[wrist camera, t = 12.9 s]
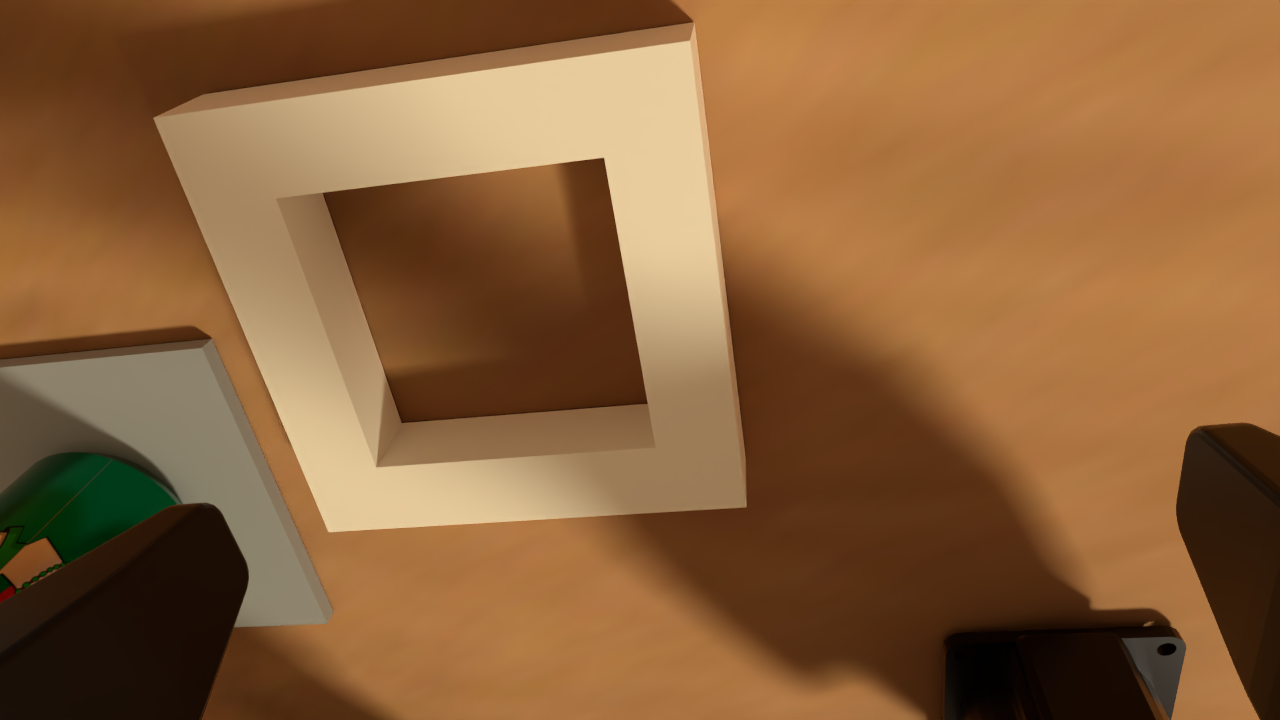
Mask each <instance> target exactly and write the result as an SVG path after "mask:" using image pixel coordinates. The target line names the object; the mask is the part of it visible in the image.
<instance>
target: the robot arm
mask: <svg viewBox="0 0 1280 720" xmlns="http://www.w3.org/2000/svg"><path fill="white" fill-rule="evenodd" d="M1176 515H1177V522H1178V526H1179V530H1180V533H1181V536H1182V538H1183V541H1184V543H1185V545H1186V548H1187V550H1188V553H1189V555H1190V558H1191V560H1192V563H1193V565H1194V568H1195V570H1196V572H1197V575H1198V577H1199V580H1200V582H1201V585H1202V587H1203V590H1204V592H1205V595H1206V597H1207V600H1208V602H1209V604H1210V607H1211V609H1212V612H1213V614H1214V617H1215V619H1216V622H1217V624H1218V627H1219V629H1220V631H1221V634H1222V636H1223V639H1224V641H1225V644H1226V646H1227V649H1228V651H1229V654H1230V656H1231V658H1232V661H1233V663H1234V666H1235V668H1236V671H1237V673H1238V675H1239V677H1240V680H1241V682H1242V684H1243V686H1244V689H1245V691H1246V693H1247V695H1248V697H1249V699H1250V701H1251V703H1252V705H1253V707H1254V709H1255V711H1256V713H1257V715H1258V717H1259V719H1260V720H1280V436H1278V435H1276V434H1273V433H1271V432H1269V431H1267V430H1264V429H1262V428H1260V427H1258V426H1255V425H1253V424H1249V423H1231V424H1219V425H1206V426H1199V427H1197V428H1196V429H1194V430H1193V431H1191V433H1190V435H1189V436H1188V439H1187V442H1186V446H1185V452H1184V459H1183V465H1182V471H1181V477H1180V484H1179V490H1178V496H1177V503H1176ZM248 582H249V570H248V565H247V562H246V559H245V557H244V555H243V553H242V551H241V549H240V547H239V545H238V544H237V542H236V540H235V538H234V536H233V534H232V532H231V530H230V528H229V526H228V524H227V522H226V520H225V518H224V516H223V514H222V512H221V511H220V510H219V509H218V508H217V507H216V506H215V505H213V504H210V503H206V502H203V503H190V504H178V505H173V506H169V507H167V508H165V509H163V510H161V511H160V512H158V513H156V514H154V515H153V516H151V517H149V518H147V519H146V520H144V521H142V522H140V523H139V524H137V525H135V526H133V527H132V528H130V529H128V530H126V531H125V532H123V533H121V534H119V535H118V536H116V537H114V538H112V539H111V540H109V541H107V542H105V543H104V544H102V545H100V546H98V547H97V548H95V549H93V550H92V551H90V552H88V553H86V554H85V555H83V556H81V557H79V558H78V559H76V560H74V561H72V562H71V563H69V564H67V565H65V566H64V567H62V568H60V569H58V570H57V571H55V572H53V573H51V574H50V575H48V576H46V577H44V578H43V579H41V580H39V581H37V582H36V583H34V584H32V585H30V586H29V587H27V588H25V589H23V590H22V591H20V592H18V593H16V594H15V595H13V596H11V597H9V598H8V599H6V600H4V601H2V602H1V603H0V720H201V719H202V717H203V714H204V711H205V709H206V706H207V703H208V700H209V698H210V695H211V692H212V689H213V686H214V683H215V680H216V677H217V674H218V672H219V669H220V666H221V663H222V660H223V657H224V654H225V651H226V649H227V646H228V643H229V640H230V637H231V634H232V631H233V628H234V626H235V623H236V620H237V617H238V614H239V611H240V608H241V605H242V603H243V600H244V597H245V594H246V591H247V587H248ZM959 650H964V651H959ZM1185 651H1186V645H1185V642H1184V641H1183V639H1182V637H1181V635H1180V633H1179V632H1178V631H1177V630H1176V629H1174V628H1172V627H1169V626H1148V627H1120V628H1092V629H1064V630H1036V631H1007V632H979V633H959V634H954V635H952V636H950V637H948V638H947V639H946V640H945V641H944V644H943V666H942V716H941V720H1171V717H1172V712H1173V708H1174V703H1175V698H1176V694H1177V689H1178V684H1179V679H1180V675H1181V670H1182V665H1183V660H1184V656H1185Z"/></svg>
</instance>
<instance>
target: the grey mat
mask: <svg viewBox="0 0 1280 720" xmlns="http://www.w3.org/2000/svg"><path fill="white" fill-rule="evenodd" d="M67 452H96V453H104V454H109V455H114V456H117V457H121V458H124V459H126V460H129V461H131V462H134V463H136V464H138V465H140V466H141V467H143V468H145V469H147V470H148V471H150V472H151V473H153V474H154V475H156V476H157V477H158V478H159V479H161V480H162V481H163V482H164V483H165V484H166V485H167V486H168V487H169V488H170V489H171V490H172V491H173V492H174V494H175V495H176V496H177V498H178V499H179V500H180V502H181V504H190V503H203V502H206V503H210V504H213V505H215V506H216V507H217V508H218V509H219V510H220V511H221V512H222V514H223V516H224V518H225V520H226V522H227V524H228V526H229V528H230V530H231V532H232V534H233V536H234V538H235V540H236V542H237V544H238V545H239V547H240V549H241V551H242V553H243V555H244V557H245V559H246V562H247V565H248V570H249V582H248V587H247V591H246V594H245V597H244V600H243V603H242V605H241V608H240V611H239V614H238V617H237V620H236V623H235V626H234V627H257V626H281V625H305V624H327V623H328V621H329V619H330V617H331V616H332V614H333V609H332V607H331V605H330V603H329V600H328V598H327V596H326V594H325V592H324V589H323V587H322V585H321V583H320V580H319V578H318V576H317V574H316V571H315V569H314V567H313V565H312V562H311V560H310V558H309V556H308V553H307V551H306V549H305V547H304V544H303V542H302V540H301V538H300V535H299V533H298V531H297V529H296V526H295V524H294V522H293V520H292V517H291V515H290V513H289V511H288V509H287V506H286V504H285V502H284V500H283V497H282V495H281V493H280V491H279V488H278V486H277V484H276V482H275V479H274V477H273V475H272V473H271V470H270V468H269V466H268V464H267V461H266V459H265V457H264V455H263V452H262V450H261V448H260V446H259V443H258V441H257V439H256V437H255V434H254V432H253V430H252V428H251V426H250V423H249V421H248V419H247V417H246V414H245V412H244V410H243V408H242V405H241V403H240V401H239V399H238V396H237V394H236V392H235V390H234V387H233V385H232V383H231V381H230V378H229V376H228V374H227V372H226V369H225V367H224V365H223V363H222V360H221V358H220V356H219V354H218V351H217V349H216V347H215V345H214V343H213V340H212V339H204V340H194V341H184V342H174V343H163V344H153V345H143V346H133V347H123V348H113V349H103V350H92V351H82V352H72V353H62V354H52V355H42V356H32V357H22V358H11V359H1V360H0V493H1V492H2V491H4V490H5V489H6V488H7V487H8V486H9V485H10V484H12V483H13V482H14V481H15V480H16V479H17V478H18V477H19V476H21V475H22V474H23V473H24V472H25V471H26V470H27V469H29V468H30V467H31V466H32V465H33V464H35V463H36V462H37V461H39V460H41V459H43V458H45V457H47V456H51V455H54V454H58V453H67Z"/></svg>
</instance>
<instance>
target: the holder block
mask: <svg viewBox="0 0 1280 720" xmlns="http://www.w3.org/2000/svg"><path fill="white" fill-rule="evenodd" d="M153 119H154V121H155V124H156V126H157V128H158V131H159V133H160V135H161V138H162V140H163V143H164V145H165V147H166V150H167V152H168V154H169V157H170V159H171V161H172V164H173V166H174V168H175V171H176V173H177V176H178V178H179V180H180V183H181V185H182V187H183V190H184V192H185V194H186V197H187V199H188V202H189V204H190V206H191V209H192V211H193V213H194V216H195V218H196V220H197V223H198V225H199V227H200V230H201V232H202V235H203V237H204V239H205V242H206V244H207V246H208V249H209V251H210V253H211V256H212V258H213V261H214V263H215V265H216V268H217V270H218V272H219V275H220V277H221V279H222V282H223V284H224V286H225V289H226V291H227V294H228V296H229V298H230V301H231V303H232V305H233V308H234V310H235V312H236V315H237V317H238V320H239V322H240V324H241V327H242V329H243V331H244V334H245V336H246V338H247V341H248V343H249V345H250V348H251V350H252V353H253V355H254V357H255V360H256V362H257V364H258V367H259V369H260V371H261V374H262V376H263V379H264V381H265V383H266V386H267V388H268V390H269V393H270V395H271V397H272V400H273V402H274V404H275V407H276V409H277V412H278V414H279V416H280V419H281V421H282V423H283V426H284V428H285V430H286V433H287V435H288V437H289V440H290V442H291V445H292V447H293V449H294V452H295V454H296V456H297V459H298V461H299V463H300V466H301V468H302V471H303V473H304V475H305V478H306V480H307V482H308V485H309V487H310V489H311V492H312V494H313V496H314V499H315V501H316V504H317V506H318V508H319V511H320V513H321V515H322V518H323V520H324V522H325V525H326V527H327V530H328V532H339V531H355V530H372V529H389V528H406V527H423V526H440V525H457V524H474V523H491V522H507V521H524V520H541V519H558V518H575V517H592V516H609V515H626V514H642V513H659V512H676V511H693V510H710V509H727V508H744V507H747V504H746V456H745V448H744V439H743V431H742V422H741V414H740V405H739V397H738V388H737V380H736V371H735V363H734V354H733V346H732V337H731V329H730V320H729V312H728V303H727V295H726V286H725V278H724V269H723V261H722V252H721V244H720V235H719V227H718V218H717V209H716V201H715V192H714V184H713V175H712V167H711V158H710V150H709V141H708V133H707V124H706V116H705V107H704V99H703V90H702V82H701V73H700V65H699V56H698V48H697V39H696V31H695V22H692V23H685V24H678V25H671V26H665V27H658V28H651V29H644V30H637V31H631V32H624V33H617V34H610V35H603V36H597V37H590V38H583V39H576V40H569V41H563V42H556V43H549V44H542V45H535V46H529V47H522V48H515V49H508V50H501V51H495V52H488V53H481V54H474V55H467V56H461V57H454V58H447V59H440V60H433V61H427V62H420V63H413V64H406V65H399V66H393V67H386V68H379V69H372V70H365V71H359V72H352V73H345V74H338V75H331V76H325V77H318V78H311V79H304V80H298V81H291V82H284V83H277V84H270V85H263V86H257V87H250V88H243V89H236V90H229V91H223V92H216V93H209V94H203V95H201V96H199V97H197V98H194V99H192V100H190V101H188V102H186V103H184V104H182V105H179V106H177V107H175V108H173V109H171V110H169V111H167V112H165V113H162V114H160V115H158V116H156V117H154V118H153ZM597 158H604V160H605V166H606V171H607V177H608V183H609V188H610V194H611V199H612V205H613V211H614V216H615V222H616V228H617V233H618V239H619V244H620V250H621V256H622V261H623V267H624V273H625V278H626V284H627V289H628V295H629V301H630V306H631V312H632V318H633V323H634V329H635V334H636V340H637V346H638V351H639V357H640V363H641V368H642V374H643V380H644V385H645V391H646V396H647V402H648V404H637V405H625V406H612V407H599V408H587V409H574V410H562V411H549V412H536V413H524V414H511V415H498V416H486V417H473V418H460V419H448V420H435V421H422V422H410V423H402V422H401V419H400V417H399V414H398V411H397V408H396V405H395V402H394V399H393V396H392V393H391V390H390V388H389V385H388V382H387V379H386V376H385V373H384V370H383V367H382V364H381V361H380V358H379V356H378V353H377V350H376V347H375V344H374V341H373V338H372V335H371V332H370V329H369V327H368V324H367V321H366V318H365V315H364V312H363V309H362V306H361V303H360V300H359V297H358V295H357V292H356V289H355V286H354V283H353V280H352V277H351V274H350V271H349V268H348V265H347V263H346V260H345V257H344V254H343V251H342V248H341V245H340V242H339V239H338V236H337V234H336V231H335V228H334V225H333V222H332V219H331V216H330V213H329V210H328V207H327V204H326V202H325V199H324V196H323V193H324V192H332V191H340V190H348V189H356V188H365V187H373V186H381V185H389V184H397V183H405V182H413V181H421V180H429V179H437V178H445V177H453V176H461V175H469V174H477V173H485V172H493V171H501V170H509V169H517V168H525V167H533V166H541V165H549V164H557V163H565V162H573V161H581V160H589V159H597Z"/></svg>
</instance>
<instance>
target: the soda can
mask: <svg viewBox="0 0 1280 720" xmlns="http://www.w3.org/2000/svg"><path fill="white" fill-rule="evenodd" d="M178 504H181V502H180V500H179V499H178V498H177V496H176V495H175V494H174V492H173V491H172V490H171V489H170V488H169V487H168V486H167V485H166V484H165V483H164V482H163V481H162V480H161V479H159V478H158V477H157V476H156V475H154V474H153V473H151V472H150V471H148V470H147V469H145V468H143V467H141V466H140V465H138V464H136V463H134V462H131V461H129V460H126V459H124V458H121V457H117V456H114V455H109V454H104V453H96V452H67V453H58V454H54V455H51V456H47V457H45V458H43V459H41V460H39V461H37V462H36V463H35V464H33V465H32V466H31V467H30V468H29V469H27V470H26V471H25V472H24V473H23V474H22V475H21V476H19V477H18V478H17V479H16V480H15V481H14V482H13V483H12V484H10V485H9V486H8V487H7V488H6V489H5V490H4V491H2V492H1V493H0V603H1V602H2V601H4V600H6V599H8V598H9V597H11V596H13V595H15V594H16V593H18V592H20V591H22V590H23V589H25V588H27V587H29V586H30V585H32V584H34V583H36V582H37V581H39V580H41V579H43V578H44V577H46V576H48V575H50V574H51V573H53V572H55V571H57V570H58V569H60V568H62V567H64V566H65V565H67V564H69V563H71V562H72V561H74V560H76V559H78V558H79V557H81V556H83V555H85V554H86V553H88V552H90V551H92V550H93V549H95V548H97V547H98V546H100V545H102V544H104V543H105V542H107V541H109V540H111V539H112V538H114V537H116V536H118V535H119V534H121V533H123V532H125V531H126V530H128V529H130V528H132V527H133V526H135V525H137V524H139V523H140V522H142V521H144V520H146V519H147V518H149V517H151V516H153V515H154V514H156V513H158V512H160V511H161V510H163V509H165V508H167V507H169V506H173V505H178Z"/></svg>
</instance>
